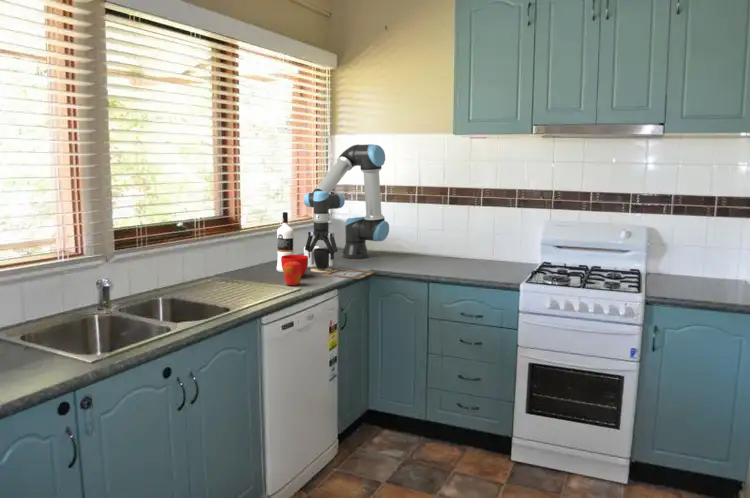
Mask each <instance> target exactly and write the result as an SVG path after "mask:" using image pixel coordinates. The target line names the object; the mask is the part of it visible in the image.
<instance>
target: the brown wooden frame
mask: <svg viewBox="0 0 750 498" xmlns="http://www.w3.org/2000/svg"><path fill="white" fill-rule="evenodd" d="M343 270H346V271H344V272H342V273H341V274H340V273H337V274H333V273H336V272H339V271H343ZM354 271H356V272H354ZM347 272H351V273H347ZM344 273H345V274H347V275H342V274H344ZM358 273H364V274H361V275H359V276H350V274H351V275H358ZM375 273H376V271H373V270H372V271H371V270H362V269H361V270H360V269H351V268H350V269H349V268H339V267H338V268H336V269H332V271H329V272H325V273H320V276H323V277H331V276H332V277H333V278H342V277H345V278H344V279H353V280H361V279H363V278H366V277H368V276H371V275H373V274H375Z"/></svg>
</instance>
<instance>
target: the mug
mask: <svg viewBox="0 0 750 498" xmlns="http://www.w3.org/2000/svg"><path fill="white" fill-rule="evenodd" d="M329 253H330V251H329V249H328V248H321V247H320V249H314V260H315V264H316V267H315V268H317V269H327V268H329Z"/></svg>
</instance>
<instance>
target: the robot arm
mask: <svg viewBox="0 0 750 498" xmlns="http://www.w3.org/2000/svg"><path fill="white" fill-rule="evenodd" d="M385 162H386V154H385V150H384V148H383V147H382V146H380V145H379V144H372V143H371V144H354V145H351V146H349V147H348V148H346V149H344V151H343V152H341V154H340V155H339V156H338V157H337V159H336V162H335V164H334V165H333V166H332V167H331V169H330V170H329V171H328V173H327V174H326V175H325V176H324V177H323V179H322V180H321V181H320V183H318V185H317V186H316V187H315V188H314V190H313V191H312V192H307V193H305V194H304V196H303V204H304V206H305V207H309V208H313V221H314V222H313V231H308V233H307V234H308V235H307V240H306V244H305V246H306V247H305V246H304V247H305V250H307V251H308V252H309V258H310V265H312V264H314V251H313V249H314V247H315V246H316V245H317V243H318V242H319V241H323V242H324V243H325V245H326V247H327V249H329V251H330V253H329V264H328V267H332V266H333V264H334V263H333V262H334V261H333V260H334V259H335V253H337V252H338V247H337V243H336V239H335V233H334V232H329V227H330V226H329V221H330V220H329V210H335V209H336V210H338V209H342V208H343V207H344V206H345V200H346V199H345V197H344V196H343V195H342V194H341V193H334V194H333V193H331V192H332V191H333V190H334V189H335V188H336V186H337V185H338V183H339V182H340V181H341V180H342V179H343V178H344V176H345V175H346V173H347V172H348V171H351V170H352V169H353V168H354V167H357V166H359V167H360V171H361V172H362V173H363V183H364V199H365V213H366V214H365V216H359V217H348V218H347V219H345V244H344V247H343V251H342V258H345V259H353V260H354V259H355V260H356V259H357V260H358V259H367V258H369V249H368V247H367V244H366V243H367V242H366V241H370V242H371V241H373V242H382V241H385V240H386V239H387V237H388V235H389V232H390V224H389V222H388V221H386V218H385V215H383V213H382V203H381V200H382V199H381V183H380V171H381V170H382V168H383V165H384V164H385ZM313 236H314V238H313ZM312 240H313V241H312Z"/></svg>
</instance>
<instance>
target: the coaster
mask: <svg viewBox="0 0 750 498" xmlns="http://www.w3.org/2000/svg"><path fill="white" fill-rule="evenodd" d="M332 270H333V269H332V268H330V267H328V268H327V269H317V268H316V267H311V268H310V270H309V271H310V272H311V273H320V274H324V273H326V272H329V271H332Z"/></svg>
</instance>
